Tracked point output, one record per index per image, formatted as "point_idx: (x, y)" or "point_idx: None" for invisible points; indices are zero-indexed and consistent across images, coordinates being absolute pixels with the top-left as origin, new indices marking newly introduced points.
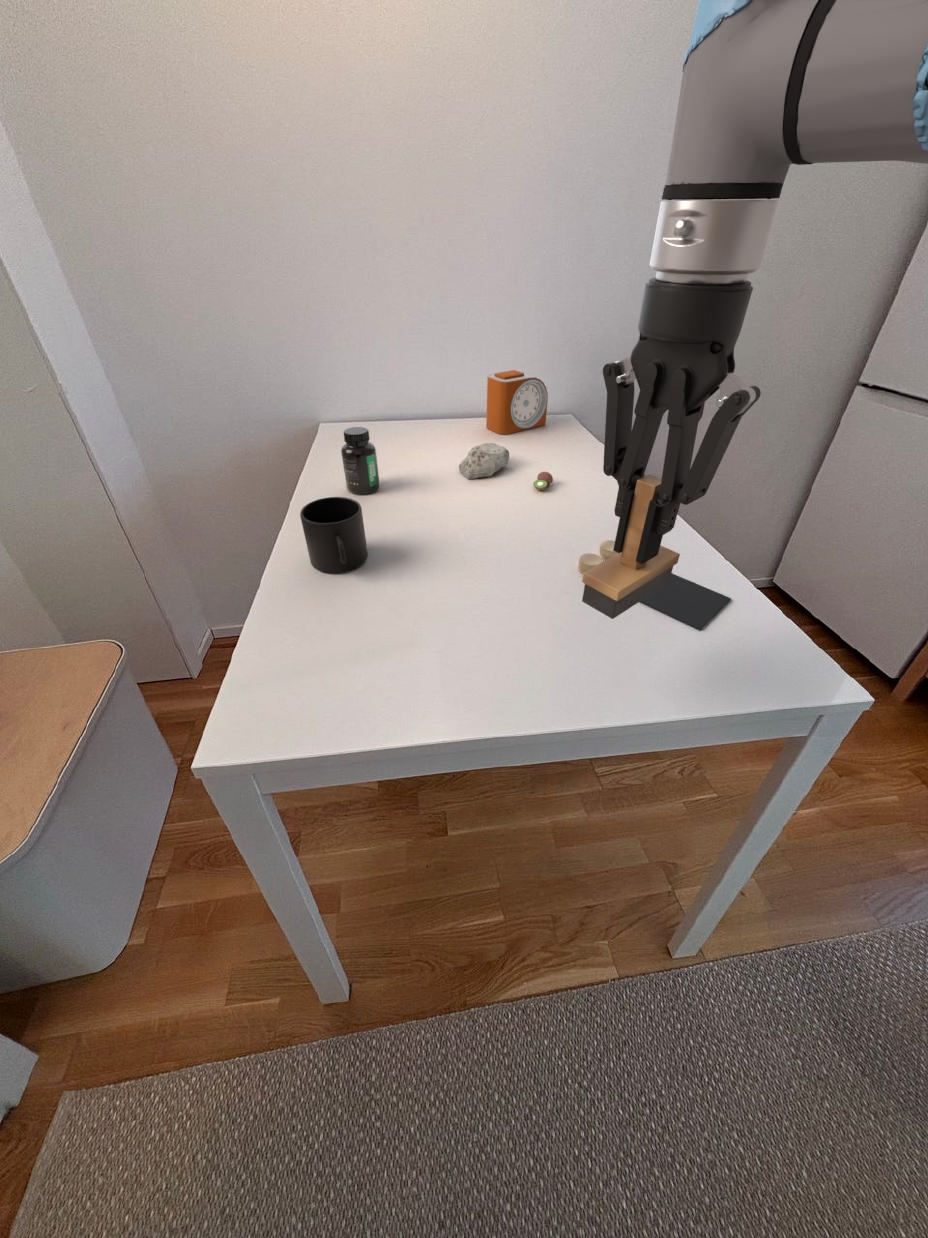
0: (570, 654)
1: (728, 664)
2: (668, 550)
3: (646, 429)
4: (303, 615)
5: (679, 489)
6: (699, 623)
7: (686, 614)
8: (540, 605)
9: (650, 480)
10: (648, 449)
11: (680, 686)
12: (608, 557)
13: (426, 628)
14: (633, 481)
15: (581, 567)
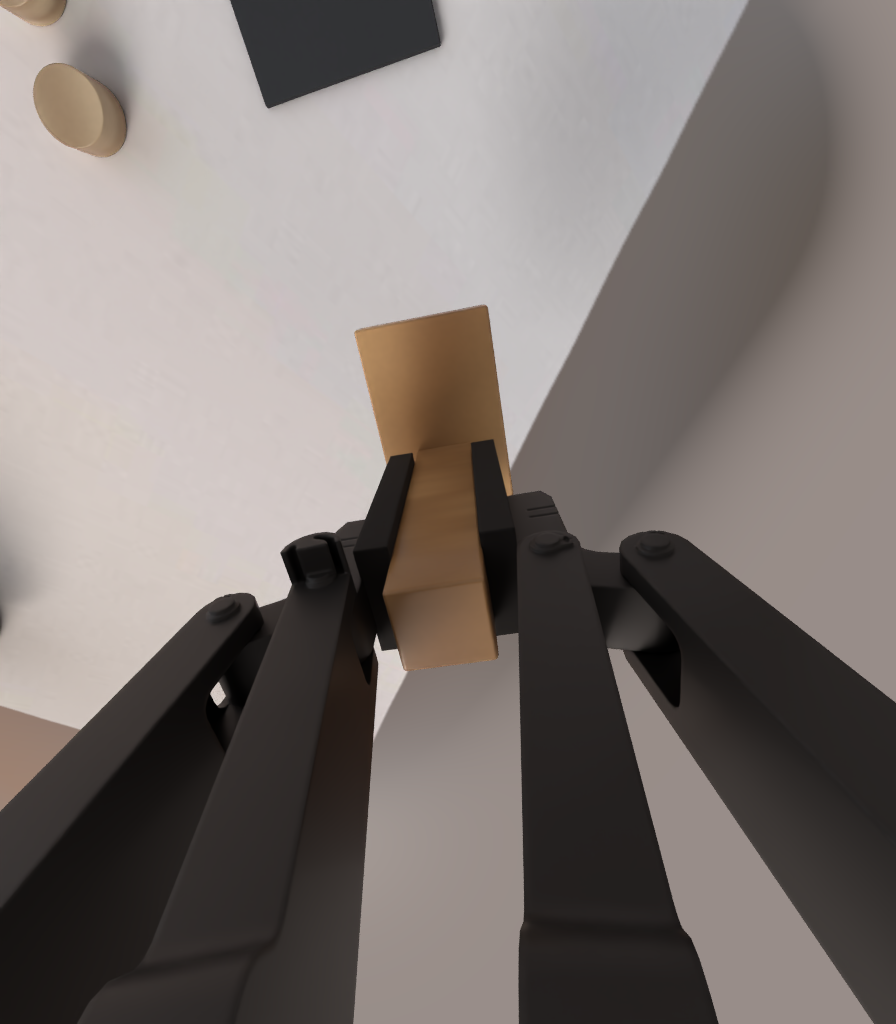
0: (367, 396)
1: (557, 98)
2: (451, 323)
3: (351, 939)
4: (114, 694)
5: (607, 645)
6: (423, 23)
7: (379, 23)
8: (206, 351)
9: (441, 638)
10: (341, 713)
11: (539, 268)
12: (51, 9)
13: (205, 567)
14: (368, 634)
15: (91, 152)
